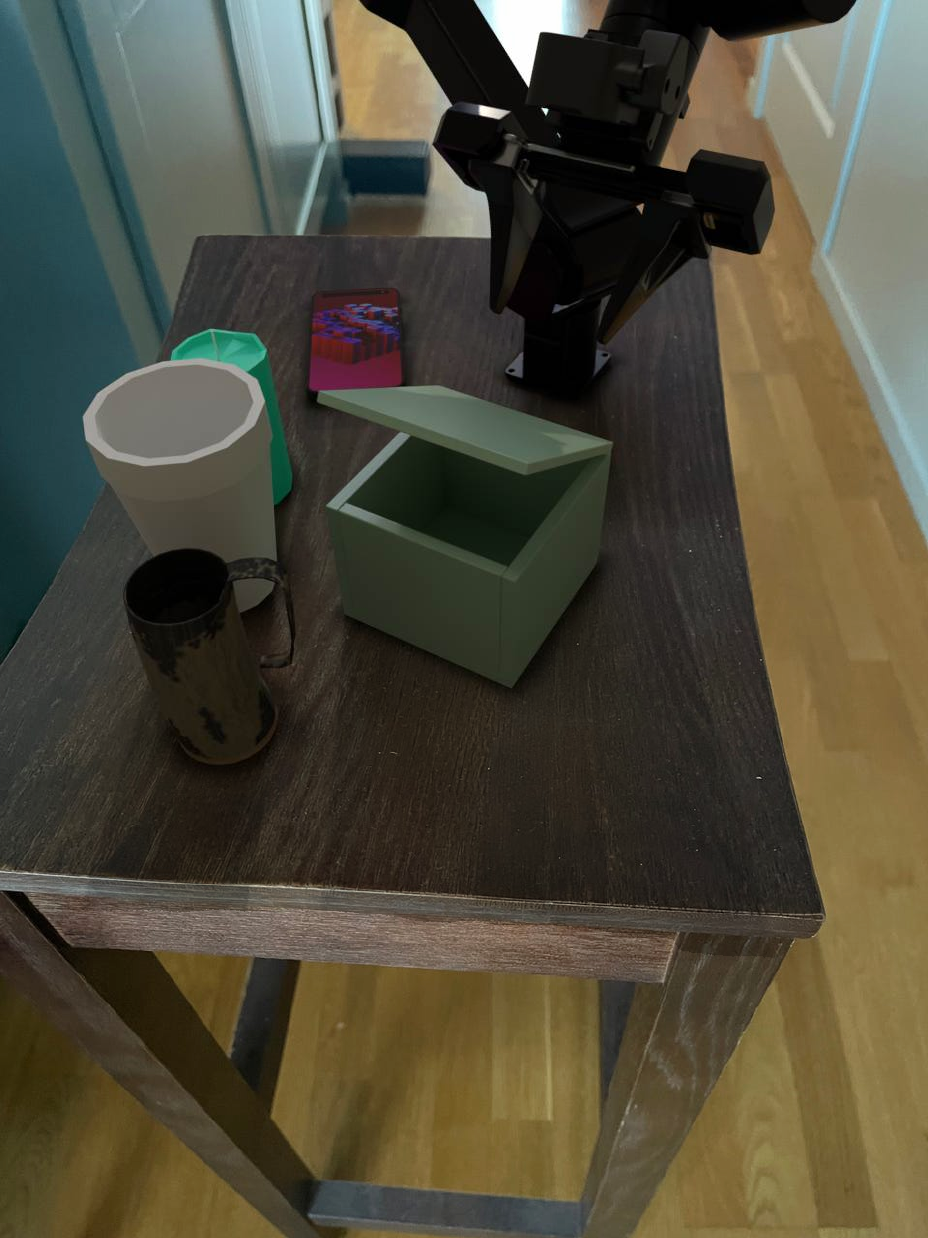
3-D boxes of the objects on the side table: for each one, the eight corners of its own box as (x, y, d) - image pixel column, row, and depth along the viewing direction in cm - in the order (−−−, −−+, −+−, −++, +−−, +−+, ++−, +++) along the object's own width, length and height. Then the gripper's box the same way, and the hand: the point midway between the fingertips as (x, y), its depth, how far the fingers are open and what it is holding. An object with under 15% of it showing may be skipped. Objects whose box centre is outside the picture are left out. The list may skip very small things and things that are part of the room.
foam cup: (326, 547, 60) (294, 375, 50) (260, 651, 54) (209, 480, 44) (198, 516, 62) (144, 347, 52) (122, 614, 56) (45, 443, 46)
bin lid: (525, 476, 41) (528, 463, 41) (316, 402, 45) (318, 390, 45) (610, 452, 52) (613, 442, 51) (435, 394, 56) (437, 384, 55)
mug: (166, 768, 49) (94, 619, 40) (182, 685, 52) (119, 532, 43) (315, 760, 49) (277, 610, 40) (320, 678, 53) (286, 524, 44)
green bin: (511, 689, 52) (515, 581, 45) (344, 614, 56) (324, 505, 49) (597, 562, 58) (611, 452, 52) (442, 503, 62) (436, 394, 56)
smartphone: (304, 393, 70) (310, 290, 79) (306, 403, 70) (312, 300, 80) (406, 387, 70) (399, 285, 80) (407, 397, 71) (400, 295, 80)
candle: (276, 518, 62) (240, 363, 53) (193, 508, 63) (144, 353, 54) (304, 462, 66) (275, 309, 57) (225, 453, 66) (185, 301, 57)
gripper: (443, -76, 45) (341, 234, 48) (817, -31, 39) (681, 326, 41) (514, 53, 56) (428, 303, 58) (819, 106, 49) (710, 386, 51)
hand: (546, 326), depth 52 cm, fingers open, 6 cm apart
